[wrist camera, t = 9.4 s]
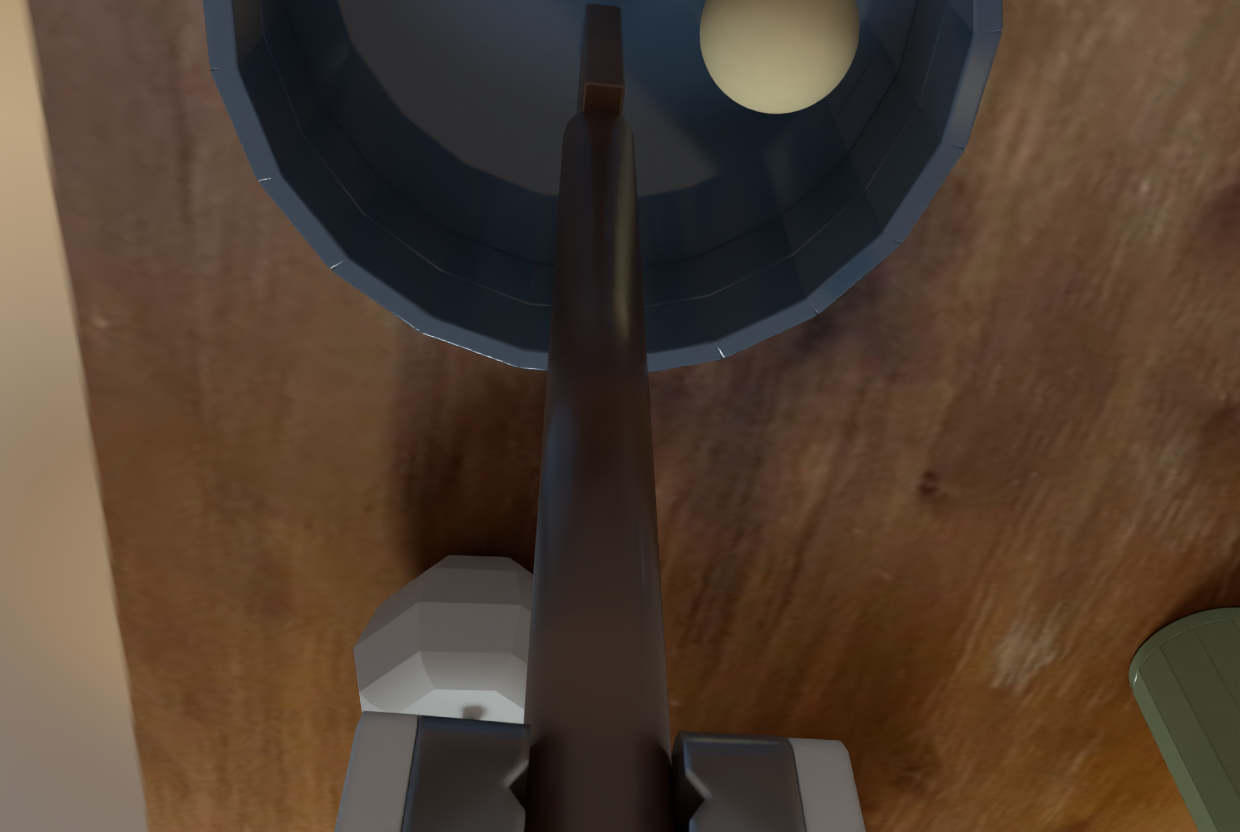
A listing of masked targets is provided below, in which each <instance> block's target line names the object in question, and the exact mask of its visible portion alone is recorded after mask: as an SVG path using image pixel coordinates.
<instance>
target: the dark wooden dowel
mask: <svg viewBox="0 0 1240 832" xmlns="http://www.w3.org/2000/svg"><path fill="white" fill-rule="evenodd" d="M624 94H625V74H624V54H623V34H622V14H621V8H620V7H616V6H607V5H599V4H590V3H589V4H587V5H586V11H585V22H584V32H583V43H582V53H581V64H580V75H579V85H578V96H577V110H576V115H574V116H573V117H572V118H571V120H570V121H569V122H568V124H567V126H566V128H565V131H564V134H563V141H562V156H561V171H560V186H559V201H558V216H557V231H556V245H555V260H554V275H553V290H552V305H551V320H550V335H549V350H548V365H547V380H546V395H545V410H544V424H543V439H542V454H541V469H540V484H539V499H538V514H537V529H536V544H535V559H534V574H533V589H532V604H531V618H530V633H529V648H528V663H527V678H526V693H525V708H524V723H523V724H531V727H530V744H529V764H528V774H527V785H526V796H525V806H524V810H525V811H526V813H525V828H524V832H676V823H675V819H674V802H673V783H672V764H671V741H670V725H669V708H668V692H667V676H666V659H665V643H664V626H663V610H662V593H661V577H660V561H659V544H658V528H657V511H656V495H655V479H654V462H653V446H652V429H651V413H650V396H649V380H648V364H647V347H646V331H645V314H644V298H643V281H642V265H641V249H640V232H639V216H638V199H637V183H636V166H635V150H634V137H633V133H632V130H631V128H630V125H629V124H628V122H627V121H626V119H625V118H624V117H623V116H622V110H623V102H624Z"/></svg>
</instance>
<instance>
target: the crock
mask: <svg viewBox="0 0 1240 832" xmlns="http://www.w3.org/2000/svg"><path fill="white" fill-rule="evenodd" d="M1129 684H1130V687H1131V690H1132V692H1133V695H1134V697H1135V699H1136V701H1137V703H1138V705H1139V707H1140V710H1141V712H1142V714H1143V716H1144V718H1145V720H1146V722H1147V724H1148V726H1149V728H1150V731H1151V733H1152V735H1153V737H1154V739H1155V741H1156V743H1157V745H1158V747H1159V749H1160V751H1161V754H1162V756H1163V758H1164V760H1165V762H1166V764H1167V766H1168V768H1169V770H1170V772H1171V775H1172V777H1173V779H1174V781H1175V783H1176V785H1177V787H1178V789H1179V791H1180V793H1181V795H1182V798H1183V800H1184V802H1185V804H1186V806H1187V808H1188V810H1189V812H1190V814H1191V816H1192V819H1193V821H1194V823H1195V825H1196V827H1197V829H1198V831H1199V832H1240V608H1239V607H1229V608H1218V609H1211V610H1206V611H1202V612H1198V613H1195V614H1192V615H1189V616H1186V617H1184V618H1182V619H1179V620H1177V621H1175V622H1173V623H1171V624H1169V625H1167V626H1166V627H1164V628H1162V629H1161V630H1159V631H1158V632H1157V633H1155V634H1154V635H1153V636H1151V637H1150V638H1149V639H1148V640H1147V641H1146V642H1145V643H1144V644H1143V645H1142V646H1141V647H1140V649H1139V650H1138V651H1137V653H1136V654H1135V656H1134V658H1133V660H1132V662H1131V665H1130V668H1129Z"/></svg>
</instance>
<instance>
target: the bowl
mask: <svg viewBox="0 0 1240 832" xmlns="http://www.w3.org/2000/svg"><path fill="white" fill-rule="evenodd" d="M705 2H706V0H203V6H204V15H205V25H206V35H207V44H208V54H209V64H210V68H211V74H212V76H213V78H214V81H215V83H216V85H217V88H218V90H219V92H220V95H221V97H222V99H223V102H224V104H225V106H226V109H227V111H228V113H229V116H230V118H231V120H232V123H233V125H234V127H235V130H236V132H237V134H238V137H239V139H240V142H241V144H242V146H243V149H244V151H245V153H246V156H247V158H248V160H249V163H250V165H251V167H252V170H253V172H254V174H255V177H256V179H257V181H259V182H260V185H261V186H262V187H263V188H264V190H265V191H266V192H267V193H268V194H269V196H270V197H271V198H272V199H273V201H274V202H275V203H276V204H277V205H278V207H279V208H280V209H281V210H282V211H283V213H284V214H285V215H286V216H287V218H288V219H289V220H290V221H291V222H292V224H293V225H294V226H295V227H296V229H297V230H298V231H299V232H300V233H301V235H302V236H303V237H304V238H305V239H306V241H307V242H308V243H309V244H310V246H311V247H312V248H313V249H314V250H315V252H316V253H317V254H318V255H319V256H320V258H321V259H322V260H323V261H324V263H325V264H326V265H327V266H328V267H329V268H330V269H332V271H333V272H334V273H335V274H337V275H338V276H340V277H341V278H343V279H344V280H345V281H347V282H348V283H350V284H351V285H353V286H354V287H355V288H357V289H358V290H360V291H361V292H363V293H364V294H365V295H367V296H368V297H370V298H371V299H373V300H374V301H375V302H377V303H378V304H380V305H381V306H383V307H384V308H385V309H387V310H388V311H390V312H391V313H393V314H394V315H395V316H397V317H398V318H400V319H401V320H403V321H404V322H405V323H407V324H408V325H410V326H411V327H413V328H414V329H415V330H417V331H419V332H420V331H421V333H422V334H425V335H427V336H430V337H433V338H436V339H439V340H441V341H444V342H447V343H450V344H452V345H455V346H458V347H461V348H464V349H466V350H469V351H472V352H475V353H477V354H480V355H483V356H486V357H488V358H491V359H494V360H497V361H500V362H502V363H505V364H508V365H511V366H513V367H516V368H518V367H520V368H521V369H532V370H544V371H547V365H548V350H549V335H550V320H551V305H552V290H553V275H554V260H555V245H556V231H557V216H558V201H559V186H560V171H561V156H562V141H563V134H564V131H565V128H566V126H567V124H568V122H569V121H570V120H571V118H572V117H573V116H574V115H576V110H577V96H578V85H579V75H580V64H581V53H582V43H583V32H584V22H585V11H586V5H587V4H589V3H590V4H599V5H607V6H616V7H620V8H621V14H622V34H623V54H624V74H625V94H624V102H623V110H622V116H623V117H624V118H625V119H626V121H627V122H628V124H629V125H630V128H631V130H632V133H633V137H634V150H635V166H636V183H637V199H638V216H639V232H640V249H641V265H642V281H643V298H644V314H645V331H646V347H647V364H648V372H654V371H659V370H665V369H671V368H676V367H682V366H688V365H693V364H699V363H705V362H710V361H716V360H721V359H722V357H723V358H727V357H729V356H731V355H733V354H735V353H738V352H740V351H742V350H744V349H746V348H748V347H750V346H753V345H755V344H757V343H759V342H761V341H763V340H765V339H768V338H770V337H772V336H774V335H776V334H778V333H780V332H783V331H785V330H787V329H789V328H791V327H793V326H796V325H798V324H800V323H802V322H804V321H806V320H808V319H811V318H813V317H815V316H816V315H817V313H818V314H819V313H821V312H822V311H823V310H825V309H826V308H827V307H828V306H829V305H831V304H832V303H833V302H834V301H835V300H836V299H838V298H839V297H840V296H841V295H842V294H844V293H845V292H846V291H847V290H848V289H849V288H851V287H852V286H853V285H854V284H855V283H856V282H858V281H859V280H860V279H861V278H862V277H864V276H865V275H866V274H867V273H868V272H869V271H871V270H872V269H873V268H874V267H875V266H877V265H878V264H879V263H880V262H881V261H882V260H884V259H885V258H886V257H887V256H888V255H889V254H891V253H892V252H893V251H894V250H895V249H897V248H898V247H899V246H900V243H902V242H903V241H904V240H905V238H906V237H907V235H908V234H909V232H910V231H911V229H912V228H913V226H914V225H915V223H916V222H917V221H918V219H919V218H920V216H921V215H922V213H923V212H924V210H925V209H926V207H927V206H928V204H929V203H930V201H931V200H932V198H933V197H934V195H935V194H936V192H937V191H938V189H939V188H940V186H941V185H942V183H943V182H944V180H945V179H946V177H947V176H948V174H949V173H950V171H951V170H952V168H953V167H954V165H955V164H956V162H957V161H958V159H959V158H960V156H961V155H962V153H963V152H964V149H965V148H964V147H966V146H967V143H968V140H969V137H970V134H971V130H972V127H973V124H974V121H975V118H976V114H977V111H978V108H979V105H980V102H981V98H982V95H983V92H984V89H985V86H986V82H987V79H988V76H989V73H990V70H991V66H992V63H993V60H994V57H995V54H996V50H997V47H998V44H999V41H1000V38H1001V30H1002V27H1003V0H856V3H857V7H858V11H859V21H860V28H859V40H858V46H857V50H856V53H855V56H854V59H853V61H852V63H851V65H850V67H849V69H848V71H847V73H846V74H845V76H844V77H843V79H842V80H841V81H840V83H839V84H838V85H837V86H836V87H835V88H834V89H833V90H832V91H831V92H830V93H829V94H828V95H827V96H825V97H824V98H823V99H821V100H820V101H818V102H816V103H815V104H813V105H811V106H809V107H807V108H804V109H801V110H798V111H794V112H789V113H780V114H773V113H764V112H759V111H755V110H752V109H749V108H746V107H744V106H742V105H740V104H738V103H737V102H735V101H734V100H732V99H731V98H730V97H729V96H727V95H726V94H725V93H724V92H723V91H722V90H721V89H720V88H719V87H718V85H717V84H716V83H715V81H714V80H713V78H712V77H711V75H710V73H709V71H708V69H707V67H706V65H705V62H704V59H703V56H702V51H701V46H700V22H701V16H702V12H703V8H704V5H705Z"/></svg>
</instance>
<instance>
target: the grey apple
mask: <svg viewBox="0 0 1240 832" xmlns="http://www.w3.org/2000/svg"><path fill="white" fill-rule="evenodd" d="M532 589H533V574H532V573H530V572H529V571H528V570H526V569H525V568H524V567H522V566H521V565H519V564H518V563H517V562H515V561H514V560H512V559H511V558H508V557H493V556H467V555H448V556H447V557H445V558H444V559H443V560H441V561H440V562H438V563H437V564H435V565H434V566H432V567H431V568H429V569H428V570H427V571H425V572H424V573H422V574H421V575H419V576H418V577H416V578H415V579H413V580H412V581H411V582H409V583H408V584H406V585H405V586H404V587H403V588H401V589H400V590H399V591H397V592H396V593H395V594H393V595H392V596H391V597H390V598H388V599H387V600H386V601H384V602H383V603H382V604H380V605H379V606H378V608H377V610H376V611H375V613H374V615H373V616H372V618H371V619H370V621H369V623H368V624H367V626H366V628H365V629H364V631H363V633H362V634H361V636H360V638H359V639H358V641H357V643H356V644H355V646H354V648H353V651H354V658H355V665H356V672H357V679H358V686H359V694H360V701H361V708H362V714H363V711H375V712H390V713H404V714H419V715H429V716H441V717H452V718H463V719H475V720H486V721H498V722H509V723H521V724H523V723H524V708H525V693H526V678H527V663H528V648H529V633H530V618H531V604H532Z"/></svg>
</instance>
